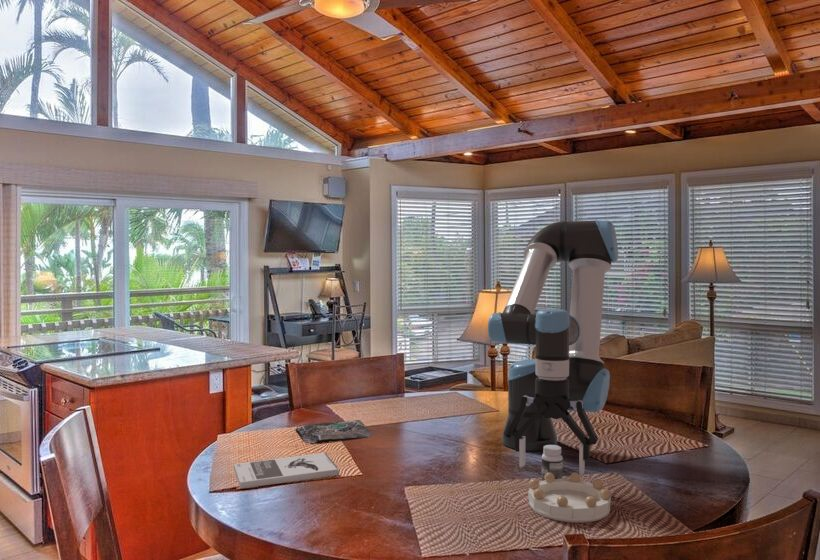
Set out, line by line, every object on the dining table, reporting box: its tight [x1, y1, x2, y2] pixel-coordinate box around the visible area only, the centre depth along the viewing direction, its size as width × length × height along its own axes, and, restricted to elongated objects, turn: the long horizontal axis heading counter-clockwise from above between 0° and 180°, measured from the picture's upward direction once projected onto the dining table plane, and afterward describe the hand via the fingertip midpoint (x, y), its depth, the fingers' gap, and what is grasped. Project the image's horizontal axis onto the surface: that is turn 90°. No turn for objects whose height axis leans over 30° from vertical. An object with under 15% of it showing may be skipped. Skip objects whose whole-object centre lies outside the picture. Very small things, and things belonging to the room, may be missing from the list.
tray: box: [527, 472, 612, 524], centre depth 132 cm, size 17×17×5 cm
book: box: [233, 452, 340, 490], centre depth 154 cm, size 23×14×2 cm, turn 111°
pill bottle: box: [541, 444, 564, 481], centre depth 145 cm, size 5×5×8 cm
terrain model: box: [295, 419, 373, 445], centre depth 187 cm, size 20×15×3 cm
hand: (551, 469), depth 145 cm, fingers open, 13 cm apart
